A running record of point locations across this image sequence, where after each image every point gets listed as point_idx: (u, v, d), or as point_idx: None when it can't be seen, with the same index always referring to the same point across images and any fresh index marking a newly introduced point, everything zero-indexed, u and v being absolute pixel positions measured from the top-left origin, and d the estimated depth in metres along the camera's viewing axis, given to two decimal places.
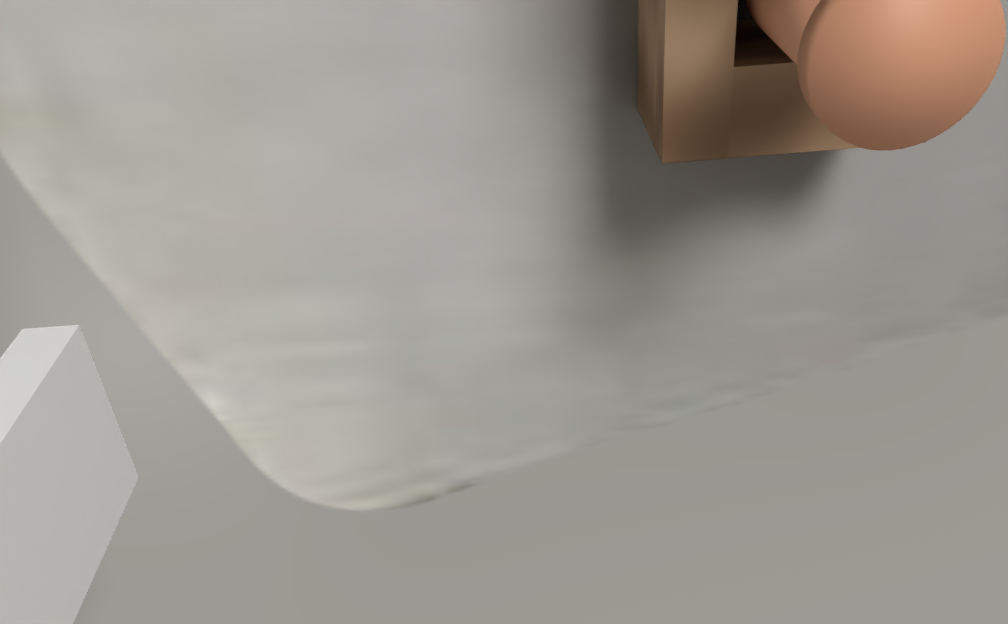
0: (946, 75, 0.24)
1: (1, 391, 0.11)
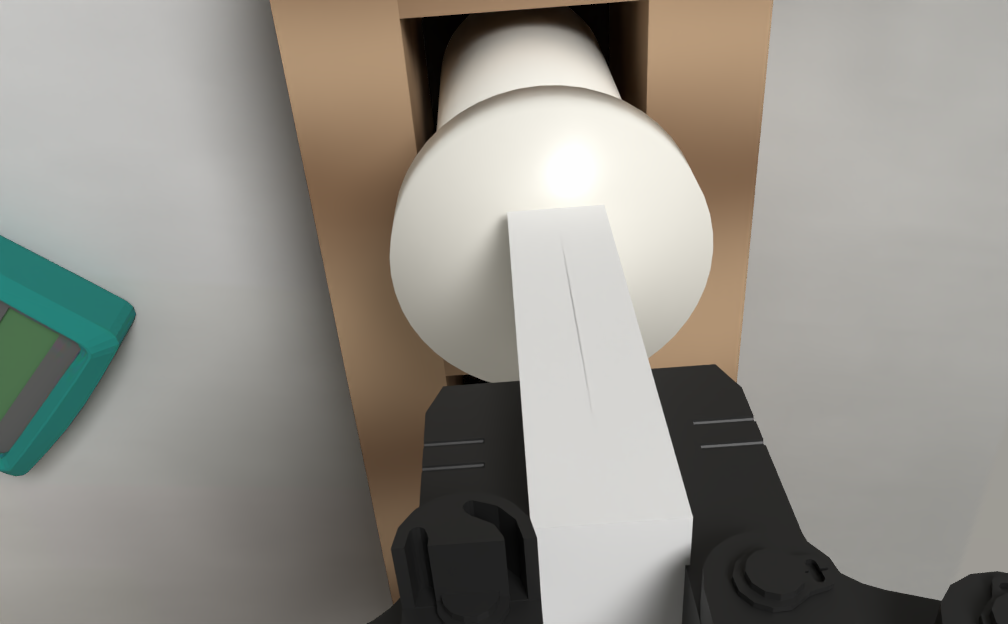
0: None
1: (533, 254, 0.13)
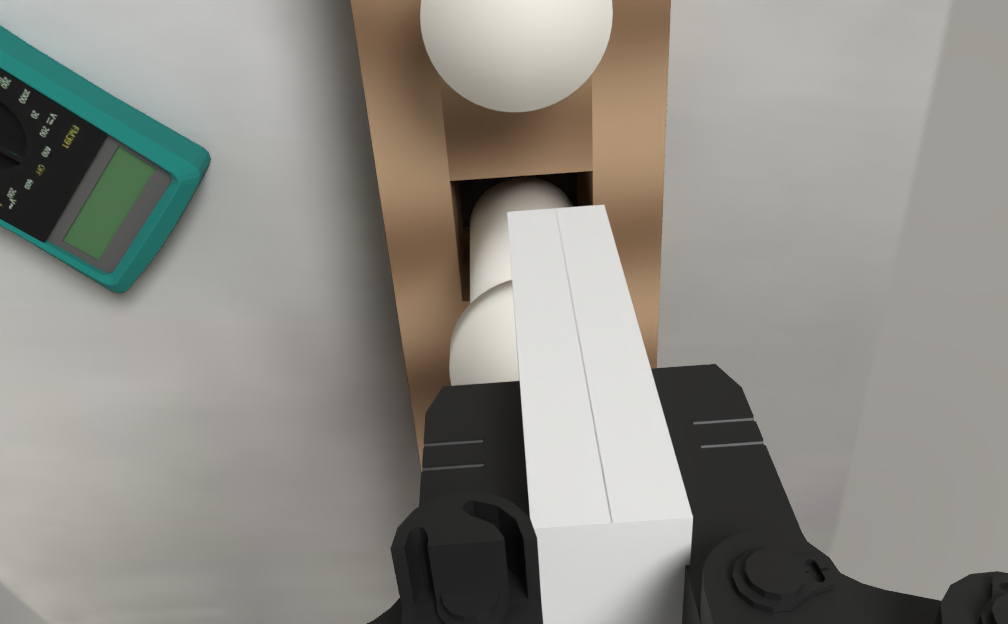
0: None
1: (533, 253, 0.13)
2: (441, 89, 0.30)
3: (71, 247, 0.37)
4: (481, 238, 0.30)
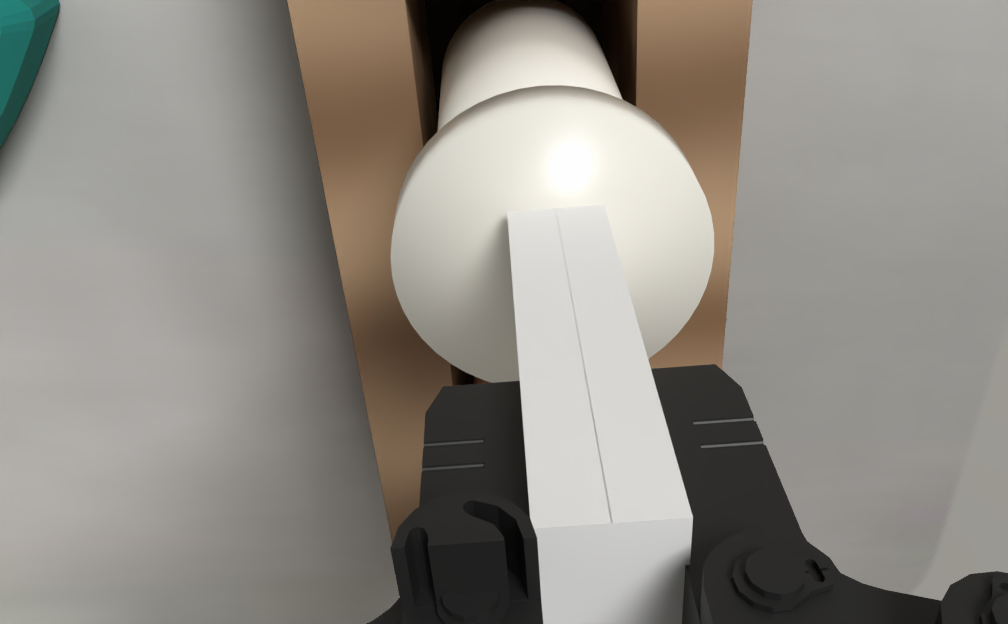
0: None
1: (534, 254, 0.13)
2: None
3: None
4: (456, 73, 0.19)
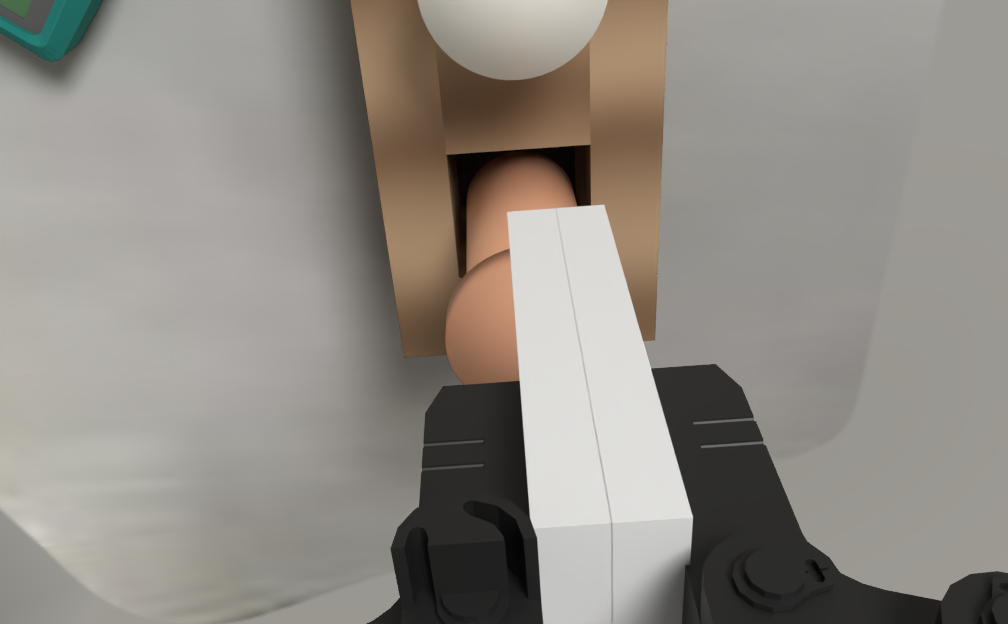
0: None
1: (533, 254, 0.13)
2: None
3: None
4: None
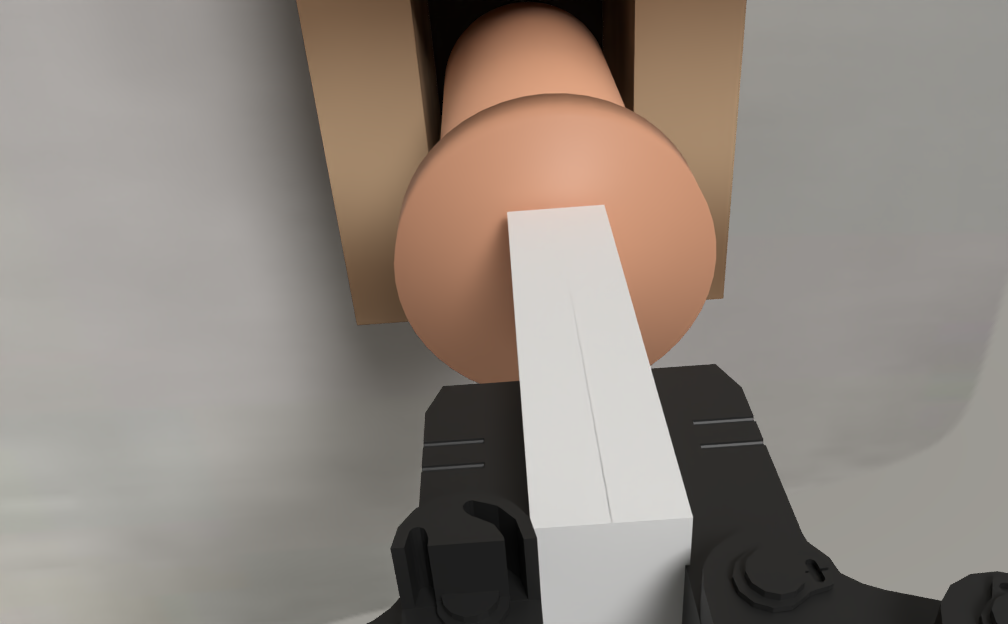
0: None
1: (534, 254, 0.13)
2: None
3: None
4: None
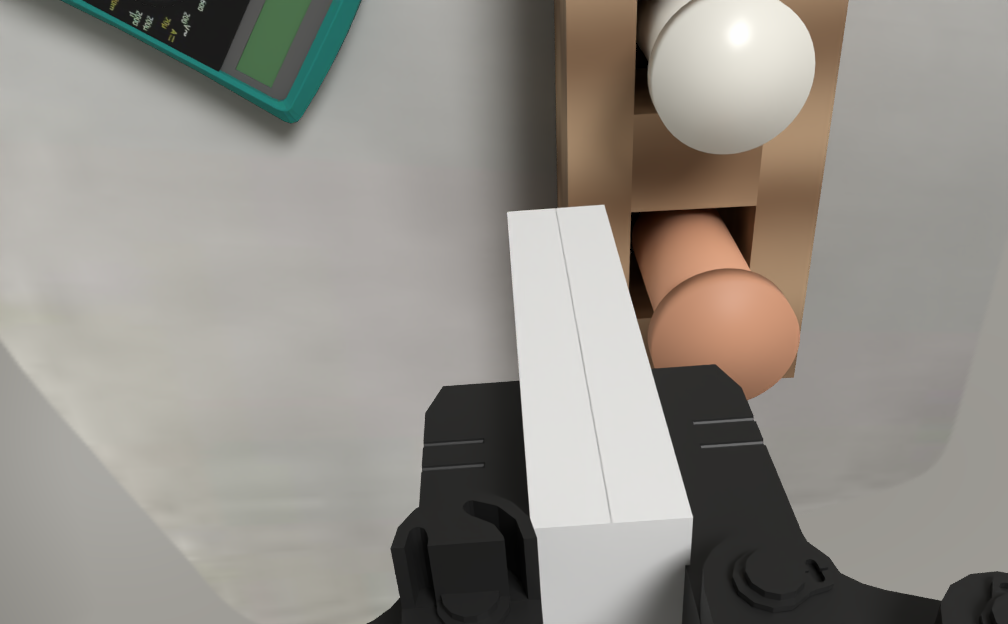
0: (757, 357, 0.32)
1: (533, 253, 0.13)
2: None
3: (244, 76, 0.37)
4: None
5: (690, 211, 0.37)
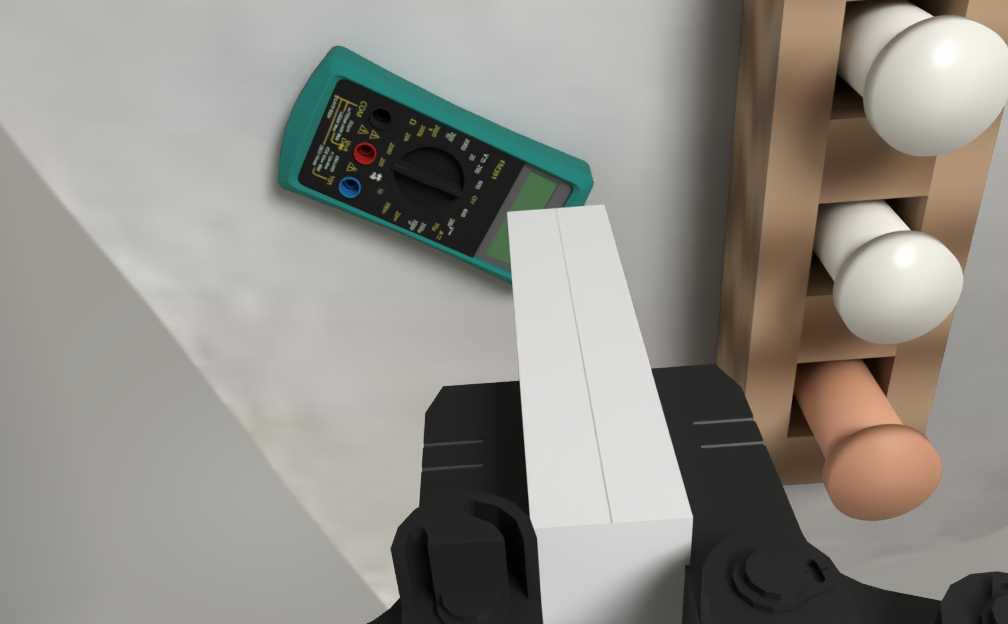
0: (908, 487, 0.42)
1: (534, 253, 0.13)
2: (828, 135, 0.39)
3: (491, 258, 0.47)
4: (825, 210, 0.43)
5: None
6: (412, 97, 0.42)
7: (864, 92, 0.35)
